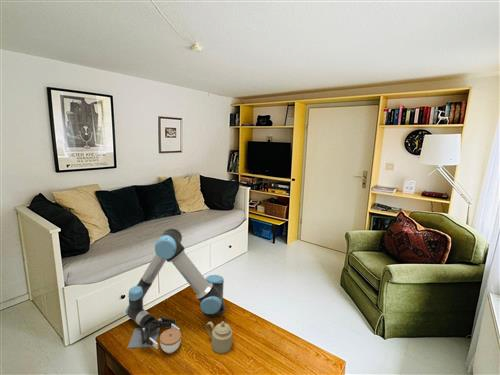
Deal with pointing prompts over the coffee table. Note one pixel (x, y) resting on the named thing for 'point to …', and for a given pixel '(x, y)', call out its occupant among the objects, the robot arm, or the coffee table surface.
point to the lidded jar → (170, 340)
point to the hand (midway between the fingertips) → (168, 338)
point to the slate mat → (137, 339)
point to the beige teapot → (220, 337)
